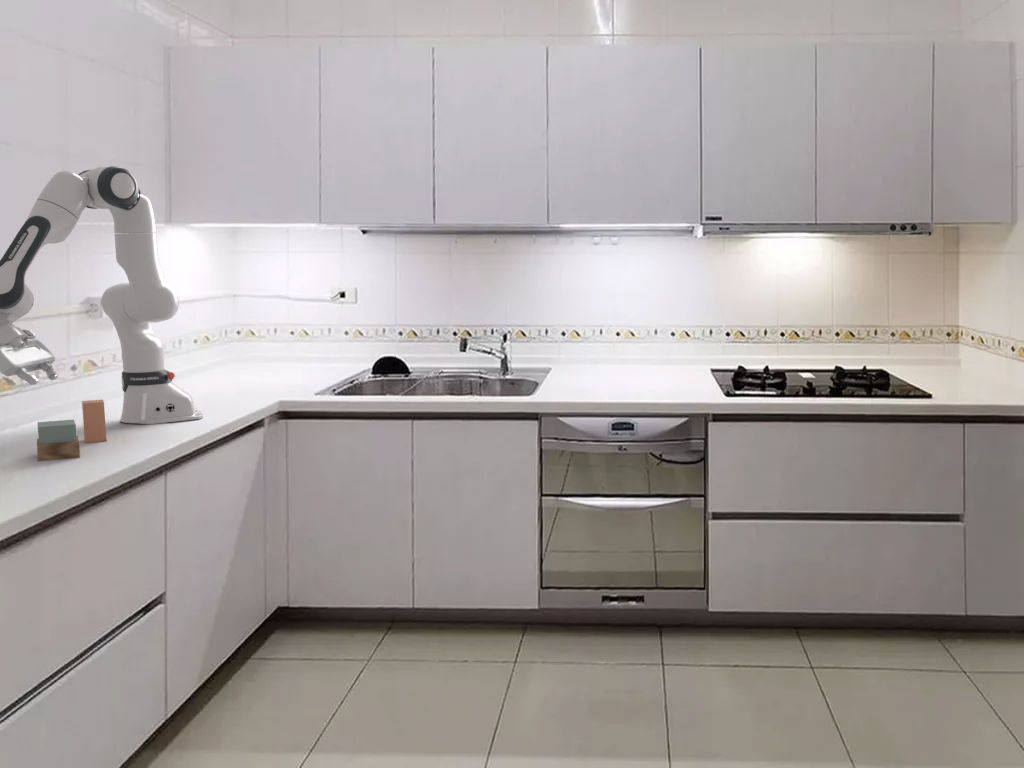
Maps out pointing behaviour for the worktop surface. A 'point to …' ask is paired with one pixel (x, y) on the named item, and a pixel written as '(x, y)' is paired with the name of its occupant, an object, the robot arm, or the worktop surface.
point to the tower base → (58, 450)
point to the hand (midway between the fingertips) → (45, 380)
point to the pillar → (94, 421)
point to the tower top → (56, 431)
